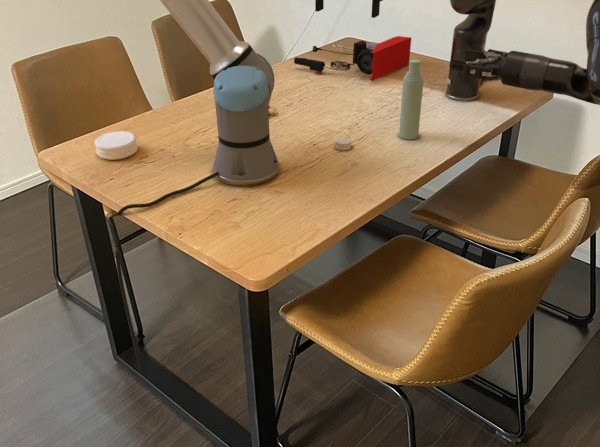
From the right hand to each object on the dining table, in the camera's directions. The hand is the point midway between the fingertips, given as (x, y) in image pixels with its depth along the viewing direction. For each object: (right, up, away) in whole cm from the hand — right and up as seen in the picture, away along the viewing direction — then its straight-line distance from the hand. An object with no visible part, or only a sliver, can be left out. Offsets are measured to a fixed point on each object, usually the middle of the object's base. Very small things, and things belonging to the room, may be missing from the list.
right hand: (458, 58), depth 144 cm
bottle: (-8, -15, +17) cm, 25 cm away
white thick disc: (-83, -20, +11) cm, 86 cm away
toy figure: (-49, -6, +33) cm, 60 cm away
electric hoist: (-19, +15, +65) cm, 70 cm away
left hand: (-26, +9, -6) cm, 28 cm away
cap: (-26, -18, +11) cm, 33 cm away
